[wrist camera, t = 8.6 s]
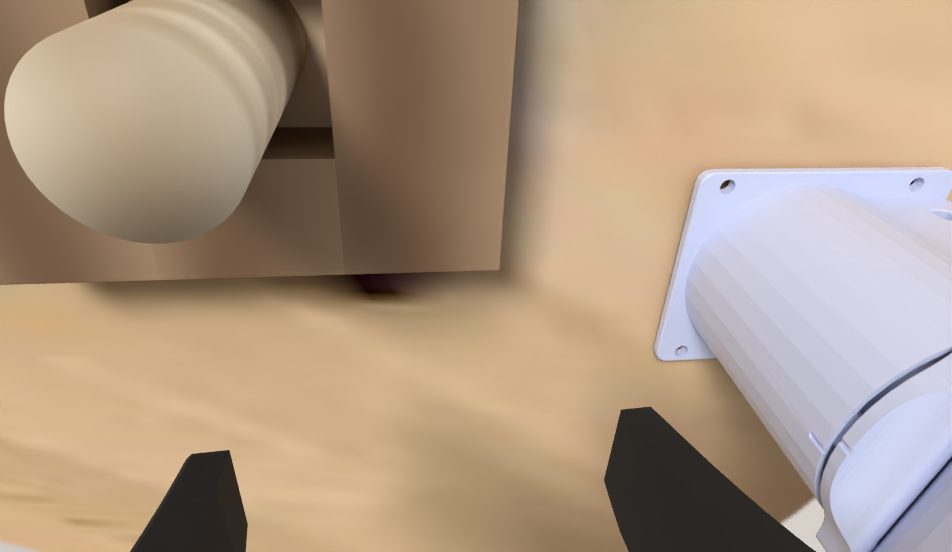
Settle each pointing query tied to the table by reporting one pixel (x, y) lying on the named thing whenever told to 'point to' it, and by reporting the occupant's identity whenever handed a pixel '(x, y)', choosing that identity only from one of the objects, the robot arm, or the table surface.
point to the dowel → (155, 112)
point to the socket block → (316, 154)
